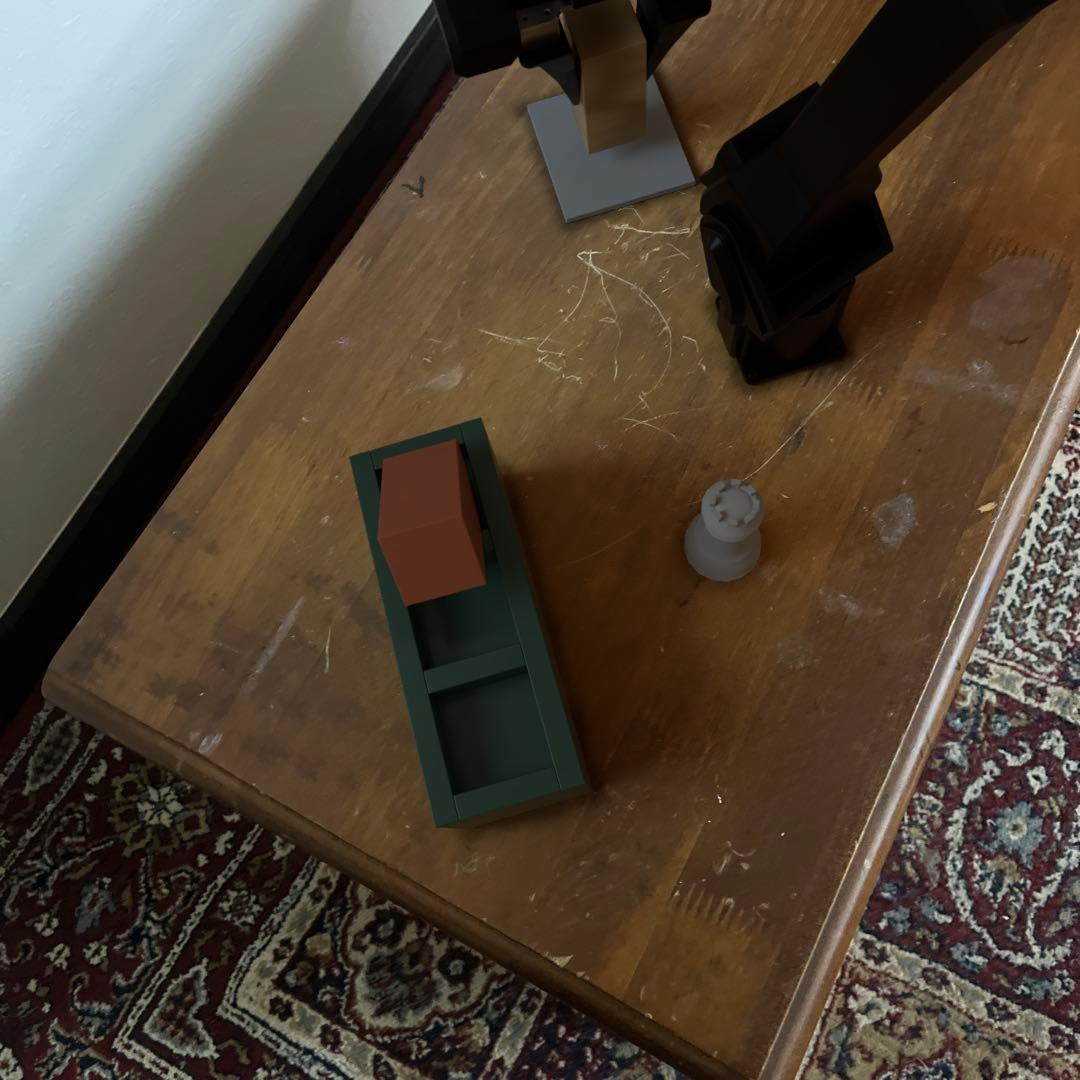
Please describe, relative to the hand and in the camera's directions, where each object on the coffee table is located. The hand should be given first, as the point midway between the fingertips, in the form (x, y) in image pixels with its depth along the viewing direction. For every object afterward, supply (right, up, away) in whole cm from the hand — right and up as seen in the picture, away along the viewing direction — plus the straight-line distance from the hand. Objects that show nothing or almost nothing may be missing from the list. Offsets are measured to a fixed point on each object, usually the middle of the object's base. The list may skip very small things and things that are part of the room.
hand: (607, 89), depth 61 cm
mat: (+1, -1, +5) cm, 5 cm away
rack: (-7, -35, -5) cm, 36 cm away
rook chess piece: (+7, -29, -4) cm, 30 cm away
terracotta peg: (-10, -27, -13) cm, 32 cm away
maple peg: (0, 0, -1) cm, 1 cm away
